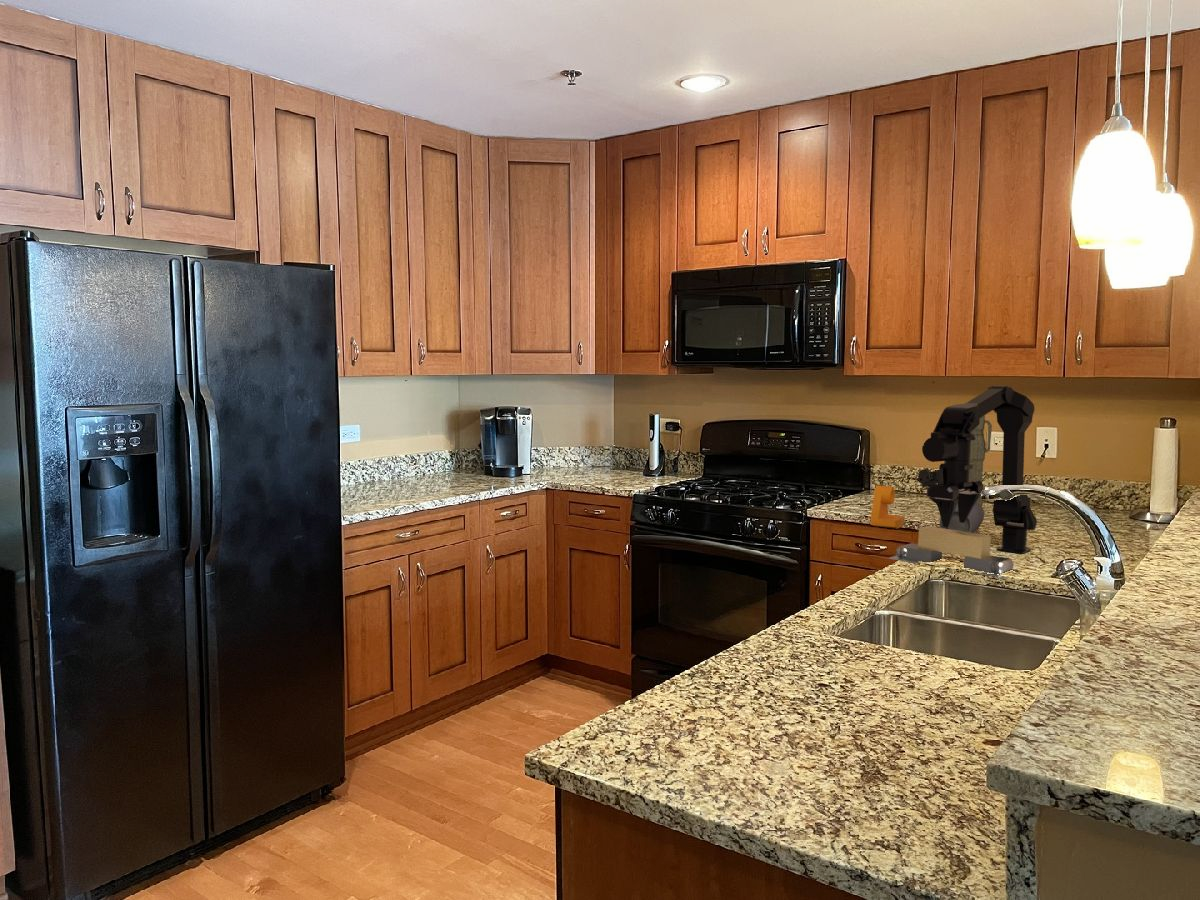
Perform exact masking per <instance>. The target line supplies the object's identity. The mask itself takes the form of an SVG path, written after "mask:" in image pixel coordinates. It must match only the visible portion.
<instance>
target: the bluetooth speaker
mask: <svg viewBox="0 0 1200 900" xmlns="http://www.w3.org/2000/svg"><path fill="white" fill-rule="evenodd" d="M984 510H985V509H984V507H983V505H982V506H981V505H980V504H979V503H978V502H976V503H975V505H974V506H973V508H972V510H971V512H970V513H969V515H968V517H967V519H966V521H965V522H964V523H961V522H960V521H959V512H958V503H957V506H956V508H955V511H954V514H953V516H952V519H951V522H950V524H949V526H948V527H943V524H942V520H941V518H940V520H939V528H944V529H950V530H957V531H963V532H969V533H976V532H977V531H978V529H979V528H980V527H981V525H982V523H983V521H984V517H985V511H984Z"/></svg>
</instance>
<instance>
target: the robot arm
mask: <svg viewBox="0 0 1200 900" xmlns="http://www.w3.org/2000/svg"><path fill="white" fill-rule="evenodd" d="M991 412H994V413H995V414H996V423H997V424H998V426H999V427H1000V429H1001V431H1002V433H1003V435H1002V438H1003V441H1002V442H1003V443H1002V473H1001V474H1002V475H1001V486H1002V485H1023V486H1024V467H1025V466H1024V465H1025V437H1026V436H1025V434H1026V431H1027V430H1028V428H1029V427H1030V426H1031V424H1032V423H1033V415H1034V413H1035V405H1034V402H1032V400H1031V399H1030V398H1029V397H1028V396H1027V395H1024V394H1022V393H1020V392H1018V391H1016V390H1014V389H1013V387H1010V386H1008V385H991V386H989V387H988V388H987V390H985V391H983V392H982V393H980V394H978V395H977V396H975V397H973V398H972V399H969V401H967V402H965V403H959V404H953V405H949V406H947V407H945V408H944V409H943V410H942V412H941V414H940V416H939V418H938V421H937V423H936V425H935V427H934V429H933V432H930V437H929V438H927V439H926V440H925V441H924V442H923V445H922V447H921V450H922V454H923V455H922V456H923V457H924V458H925V460H927V461H928V462H931V463H935V462H936V463H937V462H941V463H940V464H939V467H938V468H939V469H938V470H933V471H931V470H930V469H929V468H924V469H920V470H919V471H918V474H917V479H916V480H917V482H918V483H920V484H921V488H922V489H923V488H926V487H927V488H926V497H927V498H929V500H930V501H933V502H934V504H935V505H936V507H937V509H938V512H939V516H940V519H941V520H942V524H943V527H948V526H949V524H950V522H951V519H952V516H953V514H954V511H955V508H956V506H957V503H958V512H959V521H960V522H961V523H964V522H965V521H966V519H967V517H968V515H969V513H970V512H971V510H972V508H973V506H974V505H975V503H976V501H977V500H978V498H979V497H980V496H981V494H975V492H976V493H981V490H982V489H983V490H984V489H985V488H984V484H983V481H982V482H981V481H977V480H969V473H970V469H973V464H970V453H971V440H975V436H974V435H972V434H971V432H972V431H973V430H974V429H975V428H976V427H977V426H978V425H979V424H980V418H981V417H983V416H984V415H985V416H986V415H987V414H989V413H991ZM942 462H943V463H942ZM1030 501H1031V500H1030V498H1029V496H1028V494H1027V495H1020V496H1017V497H1014V498H1013V499H1011V500H1007V501H1005V500H996V501H993V507H992V514H993V521H994V526H995V527H996V526H997V527H998V526H999V527H1002V538H1001V542H1002V543H1001V546H998V547H996V551H999V552H1000V551H1001V552H1007V553H1014V554H1022V555H1023V554H1026V553H1029V552H1031V551H1032V548H1028V547H1027V539H1028V538H1027V536H1028V531H1035V529H1036V527H1037V522H1038V520H1037V518H1036V516H1035V514H1034V512H1033V510H1032V508H1031V502H1030Z"/></svg>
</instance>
